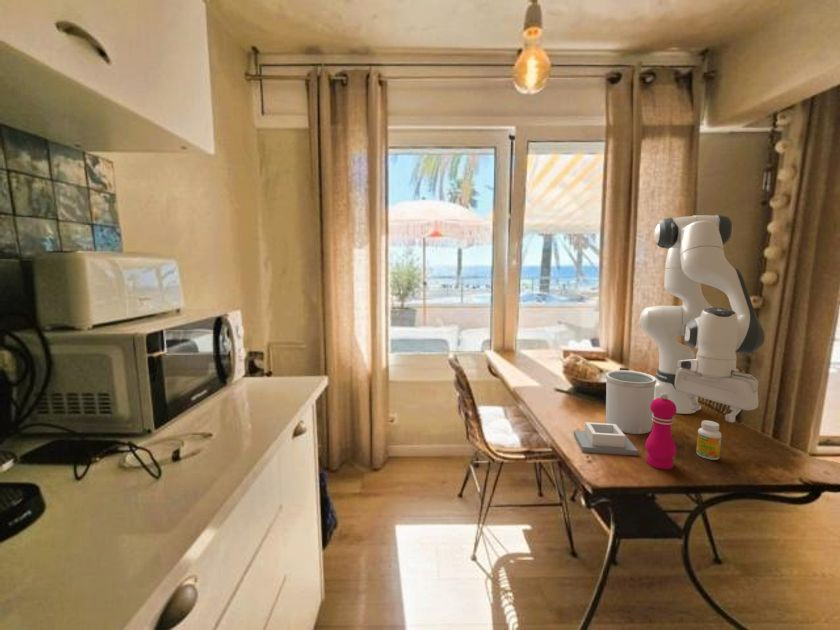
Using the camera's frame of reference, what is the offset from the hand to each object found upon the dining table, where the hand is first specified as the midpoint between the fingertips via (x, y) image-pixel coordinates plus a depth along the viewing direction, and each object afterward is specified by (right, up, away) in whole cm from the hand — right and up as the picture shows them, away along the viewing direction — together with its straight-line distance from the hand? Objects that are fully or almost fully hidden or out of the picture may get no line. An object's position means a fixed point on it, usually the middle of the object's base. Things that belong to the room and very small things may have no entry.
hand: (711, 415), depth 109 cm
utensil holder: (-11, -10, +23) cm, 27 cm away
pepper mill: (-16, -13, -2) cm, 21 cm away
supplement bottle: (0, -12, +2) cm, 12 cm away
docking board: (-26, -11, +10) cm, 30 cm away
